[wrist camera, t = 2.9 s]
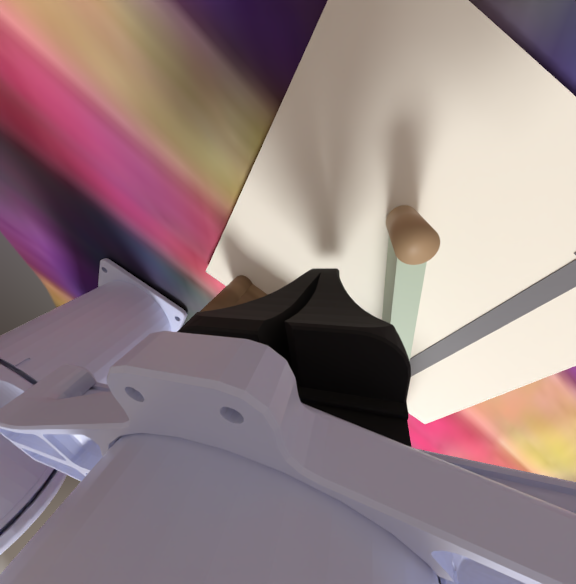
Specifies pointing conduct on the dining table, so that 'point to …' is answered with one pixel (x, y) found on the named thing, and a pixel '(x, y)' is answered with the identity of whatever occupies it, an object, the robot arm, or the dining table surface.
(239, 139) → the dining table surface
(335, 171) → the board
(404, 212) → the hinged fence panel
